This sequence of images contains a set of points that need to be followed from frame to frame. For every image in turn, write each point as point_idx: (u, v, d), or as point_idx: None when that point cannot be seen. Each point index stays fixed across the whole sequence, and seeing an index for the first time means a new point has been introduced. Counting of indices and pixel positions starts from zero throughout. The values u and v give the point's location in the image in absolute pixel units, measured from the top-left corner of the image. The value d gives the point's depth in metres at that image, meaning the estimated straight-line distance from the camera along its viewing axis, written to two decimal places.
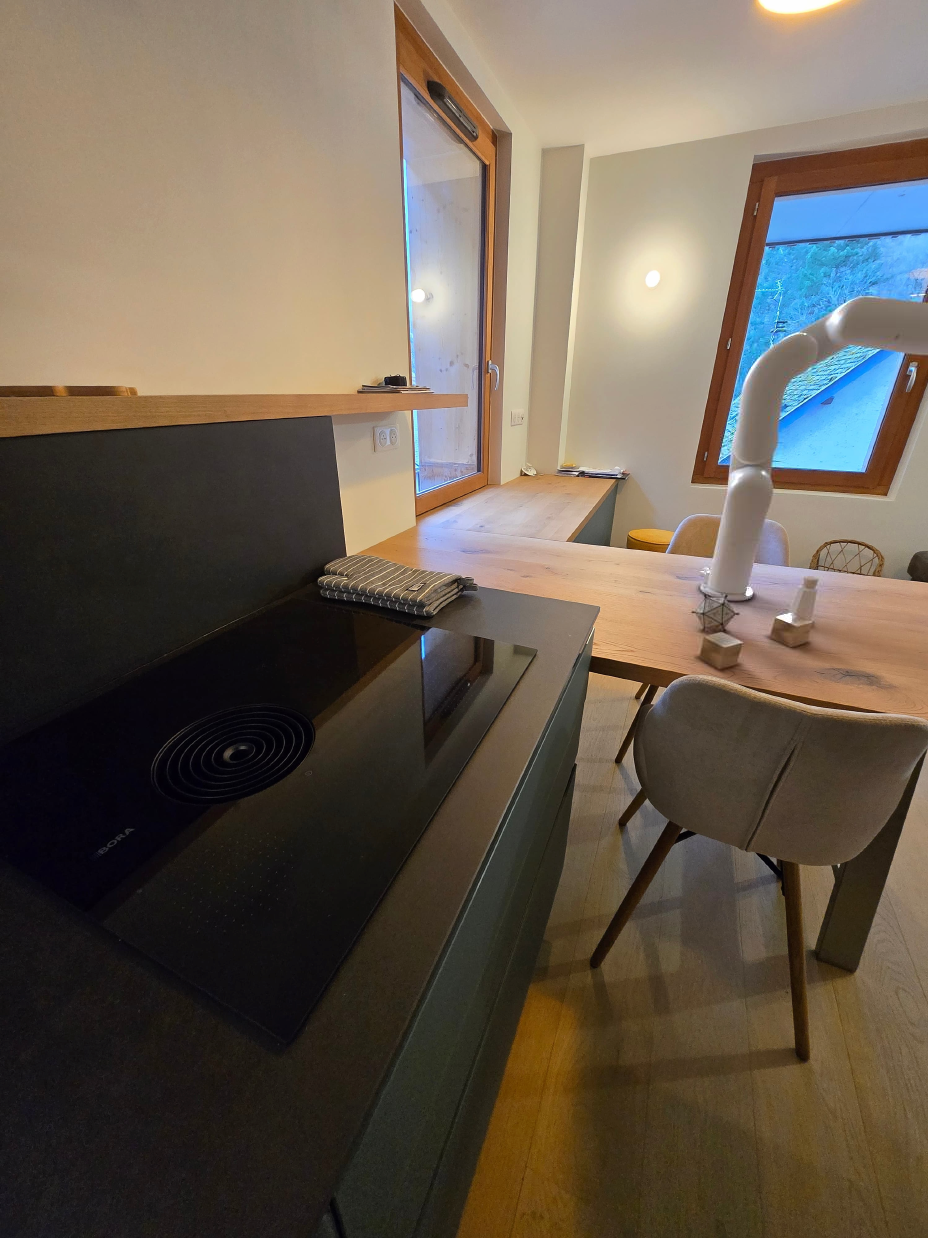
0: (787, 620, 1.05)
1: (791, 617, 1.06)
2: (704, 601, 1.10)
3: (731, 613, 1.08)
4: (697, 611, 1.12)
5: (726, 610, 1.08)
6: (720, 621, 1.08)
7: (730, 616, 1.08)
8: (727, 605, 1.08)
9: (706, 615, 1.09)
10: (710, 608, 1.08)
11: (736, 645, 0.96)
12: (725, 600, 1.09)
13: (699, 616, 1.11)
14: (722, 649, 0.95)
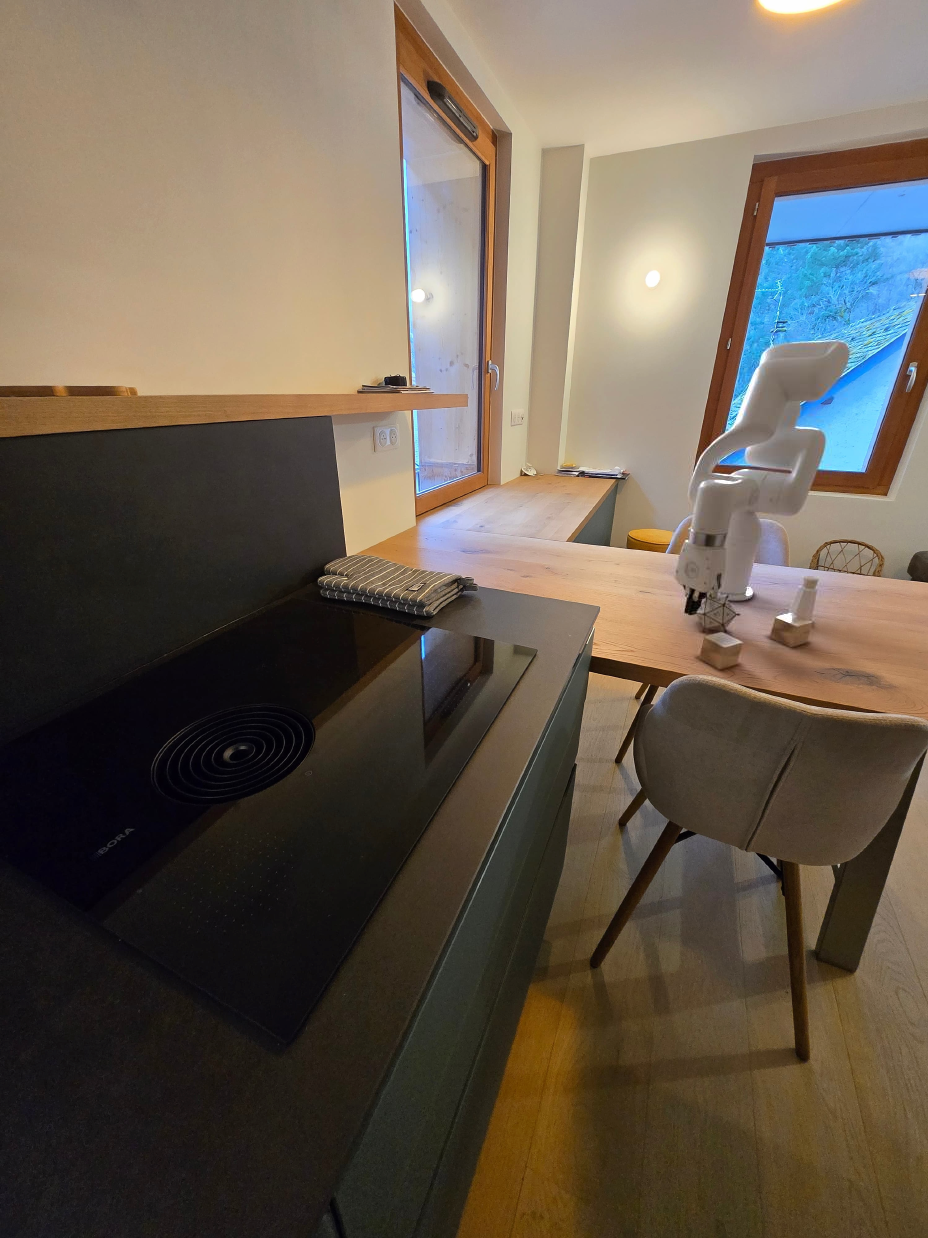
0: (787, 620, 1.05)
1: (791, 617, 1.06)
2: (705, 601, 1.10)
3: (732, 614, 1.08)
4: (698, 611, 1.12)
5: (727, 610, 1.07)
6: (721, 622, 1.07)
7: (731, 617, 1.08)
8: (728, 606, 1.08)
9: (707, 616, 1.08)
10: (711, 608, 1.08)
11: (736, 645, 0.96)
12: (726, 601, 1.09)
13: (700, 617, 1.11)
14: (722, 649, 0.95)
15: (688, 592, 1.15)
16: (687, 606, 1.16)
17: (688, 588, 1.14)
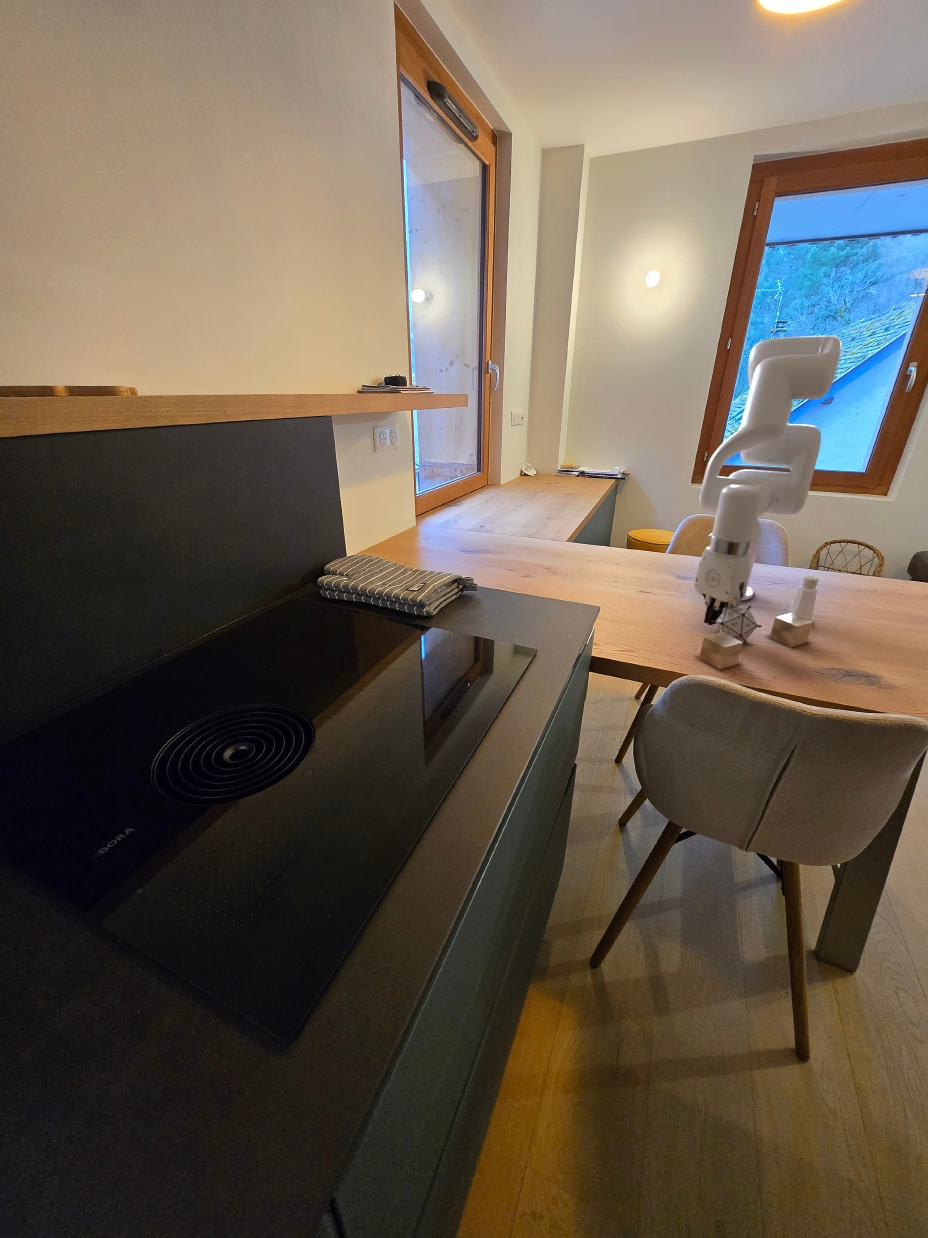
0: (787, 620, 1.05)
1: (791, 617, 1.06)
2: (725, 610, 1.06)
3: (752, 625, 1.03)
4: (717, 620, 1.07)
5: (746, 621, 1.03)
6: (739, 632, 1.03)
7: (751, 628, 1.03)
8: (749, 616, 1.03)
9: (725, 625, 1.04)
10: (729, 618, 1.04)
11: (736, 645, 0.96)
12: (747, 611, 1.04)
13: (719, 626, 1.07)
14: (722, 649, 0.95)
15: (708, 601, 1.10)
16: (707, 615, 1.11)
17: (708, 597, 1.10)
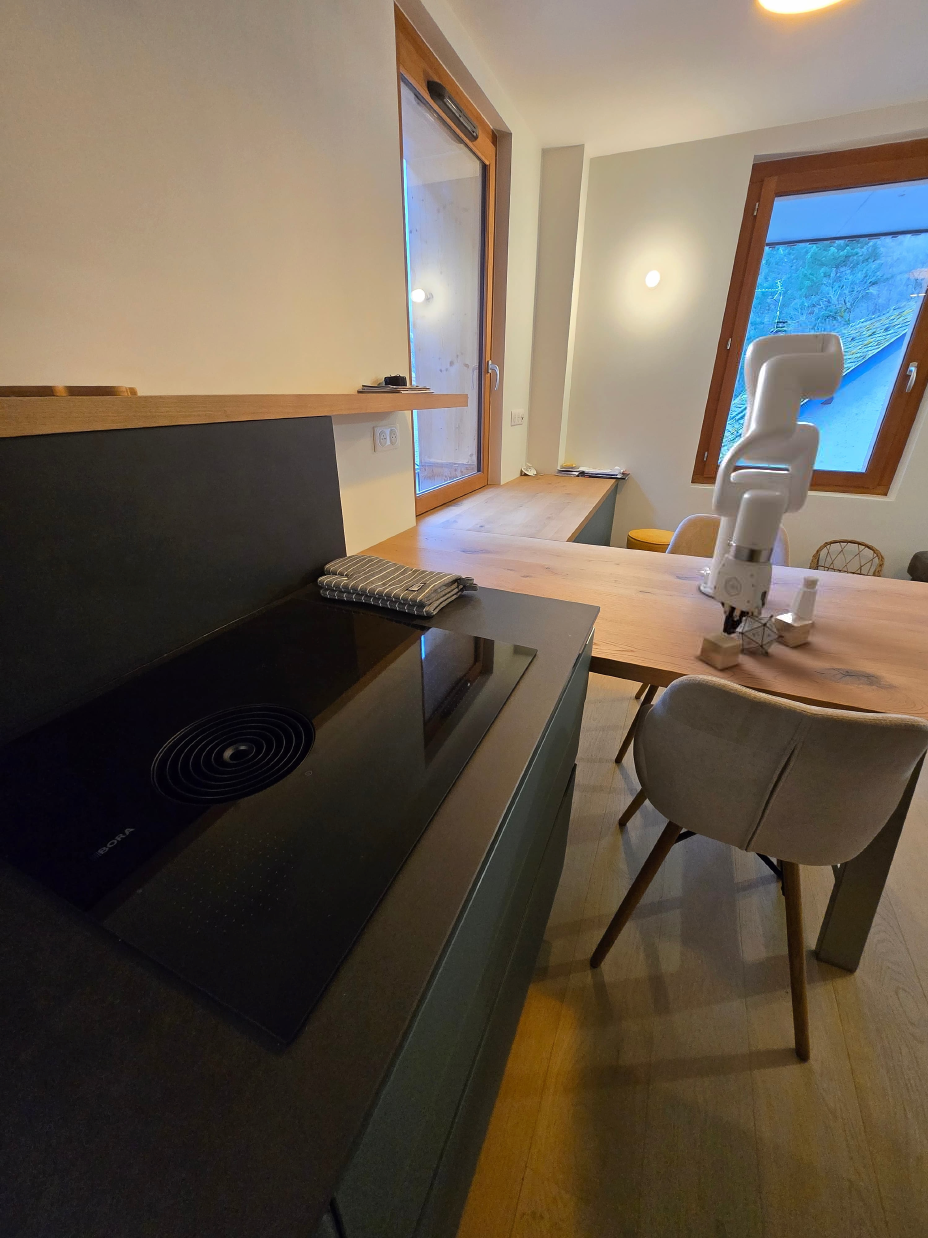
0: (787, 620, 1.05)
1: (791, 617, 1.06)
2: (745, 620, 1.02)
3: (774, 635, 0.99)
4: (737, 630, 1.03)
5: (768, 631, 0.98)
6: (760, 643, 0.99)
7: (773, 638, 0.99)
8: (770, 626, 0.99)
9: (745, 635, 1.00)
10: (750, 628, 1.00)
11: (736, 645, 0.96)
12: (769, 620, 1.00)
13: (738, 635, 1.03)
14: (722, 649, 0.95)
15: (727, 610, 1.06)
16: (726, 625, 1.07)
17: (727, 606, 1.06)
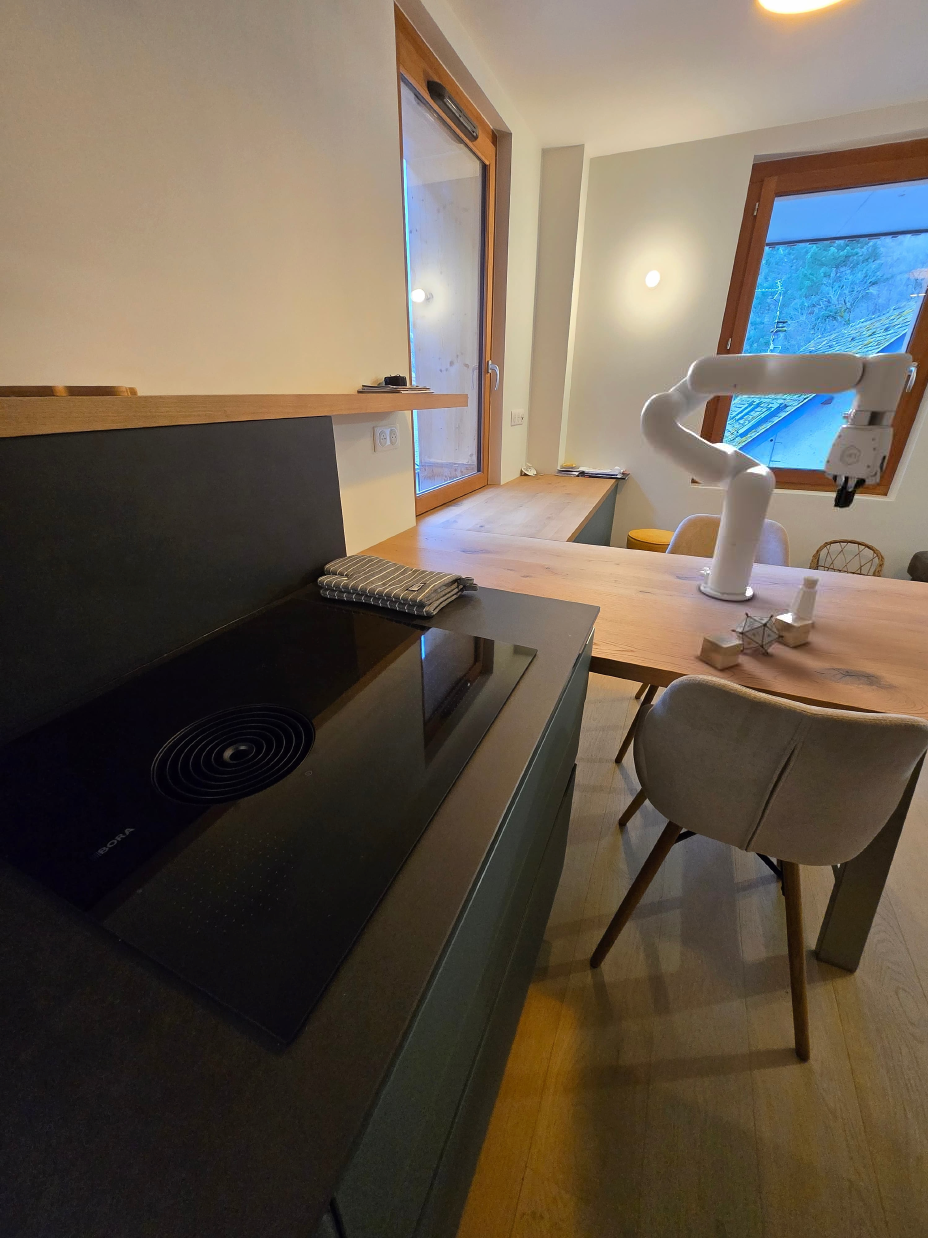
0: (787, 620, 1.05)
1: (791, 617, 1.06)
2: (745, 620, 1.02)
3: (774, 635, 0.99)
4: (737, 630, 1.03)
5: (768, 631, 0.98)
6: (760, 643, 0.99)
7: (773, 638, 0.99)
8: (770, 626, 0.99)
9: (745, 635, 1.00)
10: (750, 628, 1.00)
11: (736, 645, 0.96)
12: (769, 620, 1.00)
13: (738, 635, 1.03)
14: (722, 649, 0.95)
15: (841, 483, 1.09)
16: (838, 498, 1.10)
17: (841, 478, 1.09)
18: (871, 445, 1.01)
